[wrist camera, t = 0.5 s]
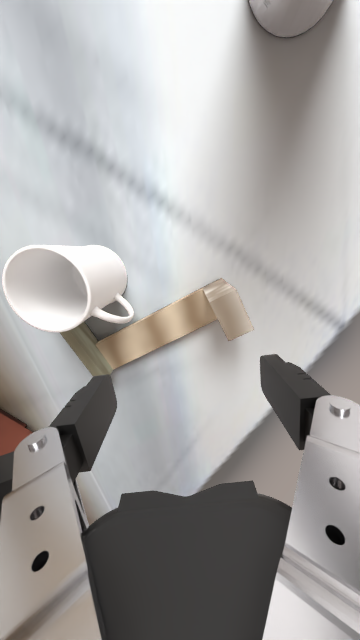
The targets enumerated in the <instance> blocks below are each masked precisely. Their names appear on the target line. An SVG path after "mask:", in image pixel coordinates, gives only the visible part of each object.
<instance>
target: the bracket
mask: <svg viewBox="0 0 360 640" xmlns="http://www.w3.org/2000/svg"><path fill="white" fill-rule="evenodd" d="M217 319H218V321H219V323H220V325H221V327H222V329H223V331H224V333H225V335H226V337H227V339H228V341H231V340H233V339H235V338H237V337H239V336H242V335H244V334H246V333H248V332H250V331H253V330H254V328H253V326H252V324H251V321H250V319H249V317H248V315H247V312H246V310H245V308H244V306H243V304H242V301H241V299H240V297H239V295H238V292H237V290H236V289H235V288H234V287H233V286H231V285H230V284H229V283H227V282H226V281H225V280H223V279H222V278H220V279H218V280H216V281H214V282H212V283H210V284H208V285H206V286H204V287H203V288H201V289H199V290H197V291H195V292H193V293H191V294H189V295H187V296H185V297H183V298H181V299H179V300H177V301H175V302H174V303H172V304H170V305H168V306H166V307H164V308H162V309H160V310H158V311H156V312H154V313H152V314H150V315H148V316H147V317H145V318H143V319H141V320H139V321H137V322H135V323H133V324H131V325H129V326H127V327H125V328H123V329H121V330H119V331H118V332H116V333H114V334H112V335H110V336H108V337H106V338H104V339H102V340H100V341H98V340H97V339H96V338H95V336H94V335H93V333H92V332H91V331H90V329H89V328H88V326H87V325H86V324H85V322H82V323H81V324H79V325H78V326H76V327H75V328H73V329H71V330H68V331H64V332H60V334H61V335H62V336H63V338H64V339H65V340H66V342H67V343H68V344H69V346H70V347H71V348H72V349H73V351H74V352H75V353H76V355H77V356H78V357H79V359H80V360H81V361H82V363H83V364H84V365H85V366H86V368H87V369H88V370H89V372H90V373H91V374H92V376H93V377H94V376H98V375H106V374H109V375H110V374H111V373H112V371H113V370H114V369H116V368H118V367H120V366H122V365H124V364H126V363H128V362H130V361H132V360H134V359H136V358H139V357H141V356H143V355H145V354H147V353H149V352H151V351H153V350H155V349H157V348H159V347H161V346H163V345H165V344H168V343H170V342H172V341H174V340H176V339H178V338H180V337H182V336H184V335H186V334H188V333H190V332H192V331H195V330H197V329H199V328H201V327H203V326H205V325H207V324H209V323H211V322H213V321H215V320H217Z"/></svg>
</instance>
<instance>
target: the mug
mask: <svg viewBox="0 0 360 640" xmlns="http://www.w3.org/2000/svg"><path fill="white" fill-rule="evenodd" d="M2 284H3V290H4V294H5V296H6V299H7V301H8V303H9V305H10V306H11V308H12V309H13V310H14V312H15V313H16V314H17V315H18V316H19V317H20V318H21V319H22V320H24V321H25V322H26V323H28V324H29V325H31V326H33V327H35V328H37V329H40V330H43V331H47V332H64V331H68V330H71V329H73V328H75V327H76V326H78V325H79V324H81V323H82V322H84V321H85V320H87V319H88V318H89V317H91V316H95V317H97V318H100V319H102V320H105V321H108V322H112V323H127V322H129V321H130V320H131V319H132V318H133V316H134V311H133V308H132V307H131V305H130V304H129V303H128V302H127V301H126V300H125V299H124V298H123V297H122V294H123V293H124V291H125V289H126V285H127V272H126V268H125V266H124V264H123V262H122V260H121V259H120V258H119V257H118V255H117V254H115V253H114V252H113V251H112V250H110V249H108V248H106V247H103V246H99V245H88V246H85V247H83V246H55V245H32V246H27V247H24V248H21V249H19V250H18V251H16V252H15V253H14V254H13V255H12V256H11V257H10V258H9V259H8V261H7V262H6V264H5V267H4V270H3V275H2ZM115 301H118V302H119V303H120V304H122V305H123V306H124V307H125V309H126V310H127V311H128V314H129V316H128V317H120V316H115V315H112V314H109V313H107V312H105V311H103V310H101V309H102V308H103V307H105V306H106V305H108V304H111V303H113V302H115Z"/></svg>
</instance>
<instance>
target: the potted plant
mask: <svg viewBox="0 0 360 640" xmlns="http://www.w3.org/2000/svg"><path fill="white" fill-rule="evenodd" d="M25 426H26V424H25V423H23V422H21V421H20V420H18V419H16V418H15V417H13V416H11V415H10V414H8V413H6V412H5V411H3V410H1V409H0V456H1V455H4V454H7V453H10V452H13V451H15V449H16V447H17V446H18V445H19V443H20V442H21V441H22V440H23V439H25V438H26V437H27V436H29V435H30V434H32V433H33V432H31V431H30V430H28V429H26V428H25Z"/></svg>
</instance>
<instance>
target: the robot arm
mask: <svg viewBox="0 0 360 640" xmlns="http://www.w3.org/2000/svg"><path fill="white" fill-rule="evenodd" d="M332 1H333V0H249V2H250V6H251V8H252V11H253V13H254V16H255V17H256V19H257V20H258V22H259V23H260V25H261V26H262V27H263V28H264V29H266V30H267V31H268V32H270V33H272V34H274V35H276V36H280V37H292V36H297V35H299V34H302V33H304V32H306V31H307V30H308V29H310V28H311V27H313V26H314V25H315V24H316V23H317V22H318V21H319V20H320V19H321V18H322V17H323V15H324V14H325V12H326V11H327V9H328V8H329V6H330V5H331V3H332ZM260 374H261V387H262V391H263V393H264V395H265V397H266V398H267V400H268V402H269V403H270V405H271V406H272V408H273V409H274V411H275V413H276V414H277V416H278V417H279V419H280V421H281V422H282V424H283V425H284V427H285V428H286V430H287V432H288V433H289V435H290V436H291V438H292V440H293V441H294V443H295V444H296V446H297V447H298V449H299V450H304V453H303V458H302V462H301V468H300V472H299V477H298V482H297V487H296V492H295V497H294V502H293V507H292V508H291V507H290V506H288V505H286V504H285V503H283V502H281V501H279V500H277V499H274V498H272V497H269V496H266V495H262V494H258V493H257V491H256V488H255V485H254V482H253V481H245V482H235V483H225V484H219V485H216V486H214V487H211V488H209V489H206V490H204V491H201V492H199V493H196V494H194V495H191V496H188V497H183V496H178V495H173V494H168V493H163V492H158V491H145V492H135V493H125V494H122V495H121V499H120V503H119V507H118V508H116V509H114V510H112V511H110V512H108V513H106V514H105V515H103V516H102V517H100V518H99V519H98V520H96V521H95V522H94V523H93V524H91V525H90V526H89V525H88V521H87V517H86V514H85V510H84V506H83V503H82V499H81V495H80V492H79V488H78V484H77V482H76V477H77V475H78V473H79V472H87V471H91V468H92V466H93V464H94V461H95V459H96V457H97V454H98V452H99V450H100V447H101V445H102V443H103V440H104V438H105V436H106V433H107V431H108V429H109V426H110V424H111V422H112V419H113V417H114V415H115V412H116V409H117V400H116V395H115V392H114V388H113V384H112V380H111V377H110V375H109V374H106V375H98V376H94V377H93V378H92V379H91V380H90V382H89V383H88V384H87V386H85V387H83V388H82V389H80V390H79V391H78V392H76V393H75V394H74V396H73V397H72V398H71V399H70V402H68V403H67V404H66V406H65V408H63V409H62V411H61V412H60V413H59V415H58V416H57V417H56V418H55V420H54V421H53V422H52V423H51V425H50V426H49V427H47V428H43V429H40V430H38V431H36V432H34V433H32V434H30V435H29V436H27V437H26V438H25V439H23V440H22V441H21V442H20V443H19V445H18V446H17V447H16V449H15V451H13V452H10V453H7V454H4V455H1V456H0V640H360V405H358V404H357V403H355V402H353V401H351V400H349V399H346V398H343V397H339V396H332V395H330V394H329V393H328V392H327V391H326V390H325V389H324V388H322V387H321V386H320V385H319V384H318V383H317V382H316V381H314V380H313V379H312V378H311V377H310V376H309V375H308V374H306V373H305V372H304V371H303V370H302V369H301V368H300V367H298V366H296V365H294V364H292V363H290V362H287V363H285V362H284V361H283V360H282V359H281V358H280V357H279V356H278V355H277V354H272V355H264V356H261V357H260Z"/></svg>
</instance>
